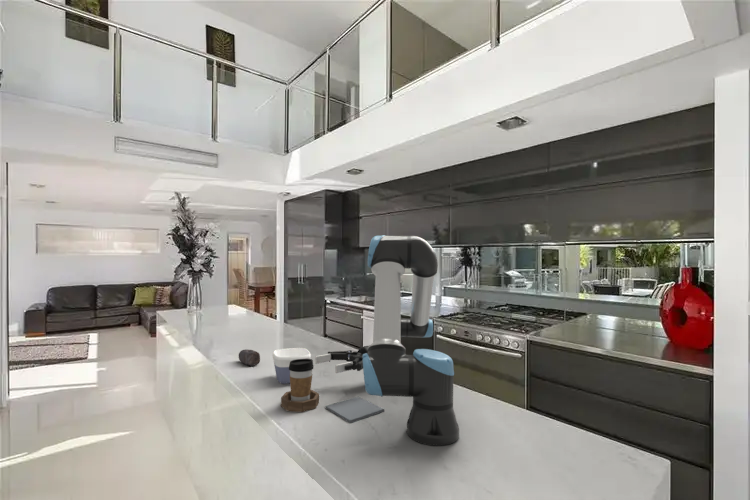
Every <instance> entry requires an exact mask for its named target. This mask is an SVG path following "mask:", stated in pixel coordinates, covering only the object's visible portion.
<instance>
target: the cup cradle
mask: <svg viewBox="0 0 750 500" xmlns="http://www.w3.org/2000/svg"><path fill="white" fill-rule="evenodd" d="M319 404H320V393H318V391H315V390H313V389H311V391H310V400H306V401H303V402H302V401H291V390H289V391H286V392H284V394H283V395H282V396H281V398H280V407H281V408H282V409H284V410H285V411H287V412H296V413H304V412H308V411H310V410H314V409H317V407H318V405H319Z"/></svg>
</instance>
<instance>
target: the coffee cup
mask: <svg viewBox="0 0 750 500" xmlns="http://www.w3.org/2000/svg"><path fill="white" fill-rule="evenodd" d="M289 370H290V383H289V386H290V387H289V388H290V391H291V401H302V402H303V401H306V400H310V391H311V390H312V381H313V370H314V360H313V359H311V358H310V359H296V360H292V361H290V365H289Z"/></svg>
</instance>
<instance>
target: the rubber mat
mask: <svg viewBox="0 0 750 500" xmlns="http://www.w3.org/2000/svg"><path fill="white" fill-rule="evenodd" d="M324 408H325V410H328V411H329V412H331V413H333V414H334V415H336V416H338V417H339V418H341V419H342V420H344V421H346V422H347V423H350V424H351V423H354V422H358V421H359V420H363V419H366V418H369V417H371V416H374V415H378V414H380V413H383V412H385V408H384V407H381V406H379V405H377V404H375V403H373V402H371V401H369V400H367V399H364V398H363V397H360V396H355V397H351V398H348V399H345V400H341V401H338V402H335V403H331V404H328V405H325V407H324Z"/></svg>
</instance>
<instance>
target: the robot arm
mask: <svg viewBox="0 0 750 500" xmlns="http://www.w3.org/2000/svg"><path fill="white" fill-rule="evenodd" d="M368 247H369V248H368V256H367V267H368V268H370V269H371V273H372V274H373V275H374V276H375V282H374V285H375V286H374V307H373V333H372V342H371V344H368V345H365V346H360V347H359V348H358V350H357V351H353V350H351V349H350V350H339V351H338V350H335V351H327V353H326V354H321V355H316V356H315V357H314V364H316V365H317V364H323V363H326V362H329V363H331V361H345V362H344V363H339V364H335V371H334V372H335V374H340V373H343V372H347V371H355V370H356V371H357V372H360V371H362V370H363V380H364V389H365V392H366V393H367V394H368V395H370V396H379V397H404V398H406V397H407V398H408V397H409V398H412V400H413V401H412V406H411V409H410V412H409V415H408V419H407V421H406V434H407V435H408V437H410V439H412V440H413V441H415V442H417V443H420V444H424V445H430V446H447V445H451V444H454V443H455V442H457V441H458V439H459V438H460V426H459V424H458V421H457V416H456V413H455V410H454V409H455V408H454V378H455V377H454V375H455V371H454V370H455V369H454V361H453V359H452V357H450V355H448V354H446V353H444V352H441V351H438V350H433V349H430V348H429V349H428V348H416V349H414V351H413V353H412V354H407V352H406V350H407V349H406V347H405V346H404V345H403V344H402V342H401V341H402V340H401V338H403V337H404V338H421V339H422V338H431V337H432V336H433V335H434V334H433V333H434V323H433V322H434V321H433V319H432V318H431V319H430V313H431V305H432V303H431V302H432V297H433V295H432V294H433V286H434V276H436V275H437V273H438V265H439V262H438V257H437V255H436V252H435V250H434V248H433V247H432V245H431V244H430V243H429V242H427V240H425V239H424V238H422V237H420V236H417V235H386V234H383V235H375V236H373V237H372V238H371V240H370V243H369V246H368ZM406 269H408V270H409V269H410V272H411V273H412V275H413V276H412V292H411V307H410V318H402V316H401V315H402V314H401V313H402V312H401V311H402V309H401V305H402V303H401V299H402V298H401V289H402V288H401V281H402V280H401V277H402V276H403V275H404V274H405V273H406Z"/></svg>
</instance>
